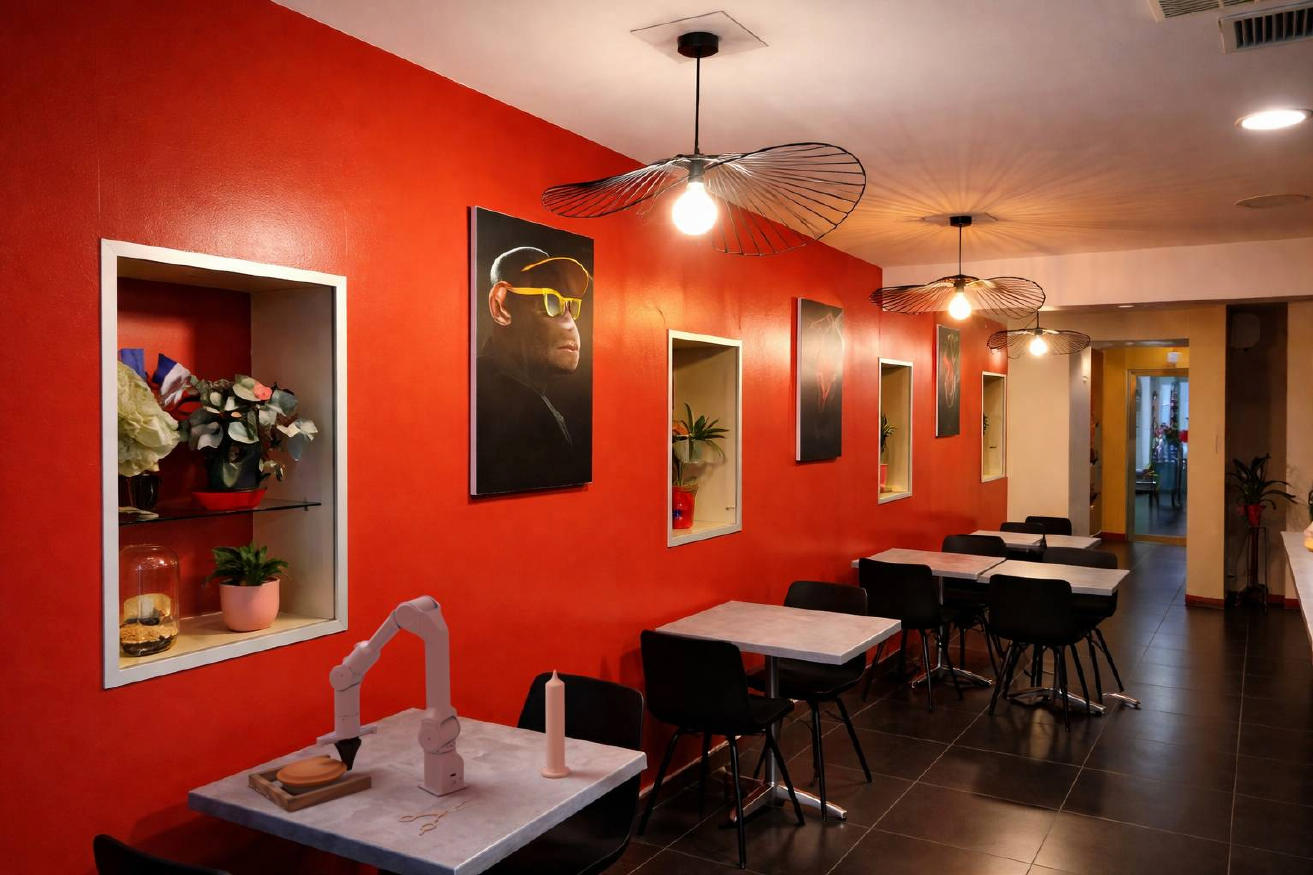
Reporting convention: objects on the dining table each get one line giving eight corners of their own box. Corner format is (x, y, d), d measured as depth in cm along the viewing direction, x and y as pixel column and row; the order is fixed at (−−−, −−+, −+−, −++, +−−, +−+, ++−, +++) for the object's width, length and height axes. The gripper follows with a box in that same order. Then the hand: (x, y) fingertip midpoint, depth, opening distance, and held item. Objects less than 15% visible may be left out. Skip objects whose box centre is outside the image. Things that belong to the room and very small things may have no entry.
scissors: (389, 820, 199) (464, 791, 215) (389, 824, 199) (464, 794, 215) (420, 834, 192) (495, 803, 208) (420, 838, 192) (495, 806, 208)
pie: (263, 788, 218) (262, 767, 218) (321, 769, 230) (321, 748, 230) (301, 804, 209) (301, 782, 209) (360, 782, 221) (360, 761, 221)
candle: (562, 779, 222) (562, 674, 222) (535, 776, 225) (535, 672, 225) (574, 769, 229) (574, 667, 229) (548, 766, 231) (547, 665, 231)
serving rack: (371, 787, 219) (371, 776, 219) (289, 811, 205) (289, 800, 205) (327, 763, 234) (327, 753, 234) (248, 785, 220) (248, 774, 220)
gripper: (366, 703, 234) (367, 757, 234) (310, 716, 224) (311, 773, 224) (381, 709, 229) (381, 764, 229) (324, 722, 219) (324, 780, 219)
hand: (347, 769), depth 226 cm, fingers closed
